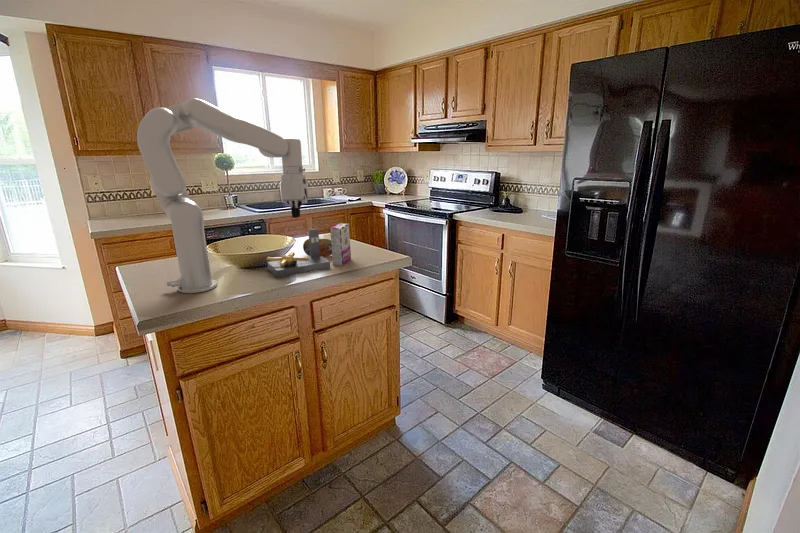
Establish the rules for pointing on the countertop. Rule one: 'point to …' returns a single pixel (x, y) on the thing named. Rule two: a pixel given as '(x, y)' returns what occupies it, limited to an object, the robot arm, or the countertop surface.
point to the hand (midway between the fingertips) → (296, 217)
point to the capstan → (287, 259)
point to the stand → (301, 267)
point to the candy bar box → (340, 244)
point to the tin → (324, 247)
